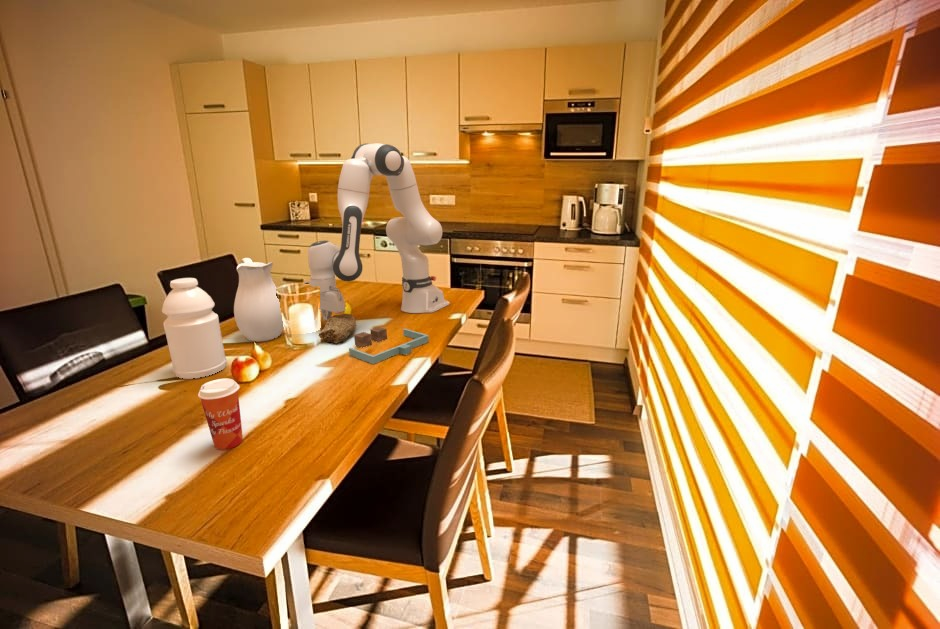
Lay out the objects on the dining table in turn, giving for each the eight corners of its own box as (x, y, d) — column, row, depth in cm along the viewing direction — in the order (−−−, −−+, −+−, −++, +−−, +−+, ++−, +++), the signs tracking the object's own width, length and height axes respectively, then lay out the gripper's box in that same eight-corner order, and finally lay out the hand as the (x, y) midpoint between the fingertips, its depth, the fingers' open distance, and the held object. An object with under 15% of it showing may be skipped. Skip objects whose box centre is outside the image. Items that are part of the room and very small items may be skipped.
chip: (364, 342, 160) (363, 331, 159) (371, 345, 158) (370, 334, 157) (355, 345, 157) (354, 334, 156) (362, 348, 155) (361, 337, 154)
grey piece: (405, 335, 167) (404, 328, 166) (434, 343, 158) (433, 336, 157) (349, 355, 149) (348, 348, 148) (379, 366, 140) (378, 358, 139)
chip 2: (379, 337, 166) (379, 326, 164) (387, 339, 163) (386, 328, 162) (371, 340, 163) (370, 329, 161) (378, 342, 160) (377, 331, 159)
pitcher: (294, 338, 165) (283, 262, 157) (242, 348, 156) (229, 267, 148) (278, 321, 184) (268, 252, 176) (232, 329, 175) (219, 257, 167)
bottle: (164, 374, 136) (143, 282, 128) (207, 358, 148) (190, 273, 140) (195, 383, 130) (175, 287, 122) (237, 365, 142) (221, 277, 134)
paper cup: (207, 456, 96) (194, 396, 92) (210, 438, 103) (199, 381, 99) (248, 447, 99) (237, 388, 95) (249, 430, 106) (239, 374, 102)
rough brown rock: (346, 348, 159) (368, 319, 176) (338, 328, 155) (361, 301, 172) (314, 351, 162) (338, 323, 179) (305, 332, 159) (331, 306, 176)
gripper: (347, 287, 167) (351, 323, 171) (315, 279, 179) (319, 313, 183) (332, 290, 162) (336, 327, 166) (301, 282, 174) (305, 317, 179)
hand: (327, 320), depth 175 cm, fingers closed
